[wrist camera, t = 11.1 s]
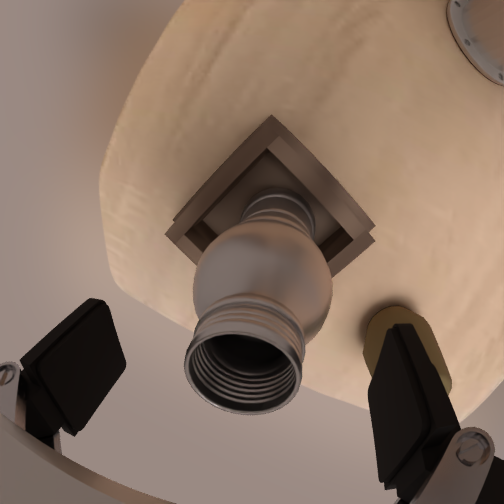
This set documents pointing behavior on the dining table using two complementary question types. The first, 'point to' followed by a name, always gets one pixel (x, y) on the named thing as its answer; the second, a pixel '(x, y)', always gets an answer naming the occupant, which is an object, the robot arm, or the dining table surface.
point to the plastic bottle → (258, 306)
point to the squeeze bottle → (423, 329)
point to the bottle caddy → (265, 177)
